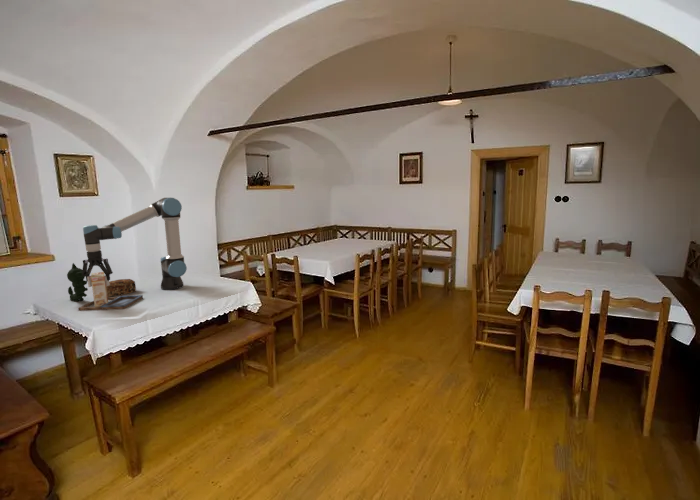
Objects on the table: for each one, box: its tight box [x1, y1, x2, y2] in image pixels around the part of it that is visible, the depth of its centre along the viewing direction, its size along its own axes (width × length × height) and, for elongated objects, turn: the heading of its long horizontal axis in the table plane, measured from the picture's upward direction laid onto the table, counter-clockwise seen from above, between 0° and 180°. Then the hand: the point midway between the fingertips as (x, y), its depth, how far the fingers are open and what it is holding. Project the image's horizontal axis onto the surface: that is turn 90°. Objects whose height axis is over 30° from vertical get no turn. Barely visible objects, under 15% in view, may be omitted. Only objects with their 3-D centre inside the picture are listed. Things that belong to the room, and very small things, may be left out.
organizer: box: [77, 294, 144, 311], centre depth 238 cm, size 27×22×2 cm
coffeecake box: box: [90, 271, 109, 307], centre depth 237 cm, size 15×7×20 cm, turn 32°
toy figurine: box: [66, 262, 89, 303], centre depth 247 cm, size 9×19×25 cm, turn 59°
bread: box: [106, 278, 137, 297], centre depth 262 cm, size 19×11×10 cm, turn 138°
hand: (99, 286), depth 236 cm, fingers closed on coffeecake box, 10 cm apart
